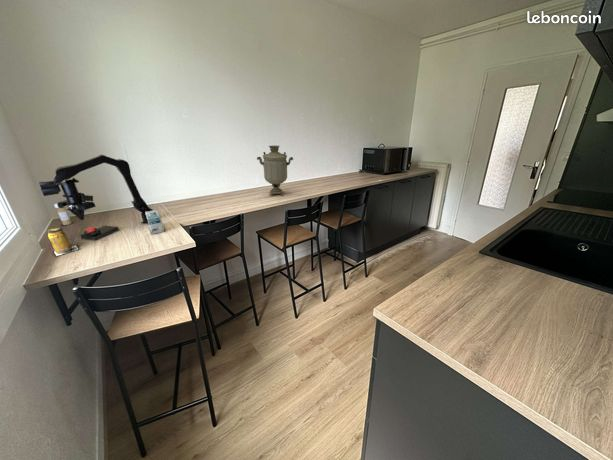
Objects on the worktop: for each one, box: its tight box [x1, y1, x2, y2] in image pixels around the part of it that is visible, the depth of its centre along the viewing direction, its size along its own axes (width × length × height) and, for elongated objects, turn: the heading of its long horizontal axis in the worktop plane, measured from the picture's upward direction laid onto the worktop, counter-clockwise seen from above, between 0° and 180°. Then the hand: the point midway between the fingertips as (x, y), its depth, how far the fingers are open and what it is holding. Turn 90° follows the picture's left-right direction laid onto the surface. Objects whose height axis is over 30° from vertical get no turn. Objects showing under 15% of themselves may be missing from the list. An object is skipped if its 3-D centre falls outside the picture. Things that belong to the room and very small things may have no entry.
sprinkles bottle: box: [53, 202, 73, 226], centre depth 155 cm, size 5×5×13 cm
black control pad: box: [79, 225, 120, 241], centre depth 142 cm, size 10×14×4 cm
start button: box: [85, 226, 97, 233], centre depth 138 cm, size 4×4×2 cm
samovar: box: [256, 144, 294, 197], centre depth 213 cm, size 30×26×40 cm
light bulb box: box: [145, 209, 165, 235], centre depth 146 cm, size 11×7×11 cm, turn 35°
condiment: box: [47, 227, 79, 257], centre depth 123 cm, size 7×8×12 cm
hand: (82, 219), depth 137 cm, fingers closed
